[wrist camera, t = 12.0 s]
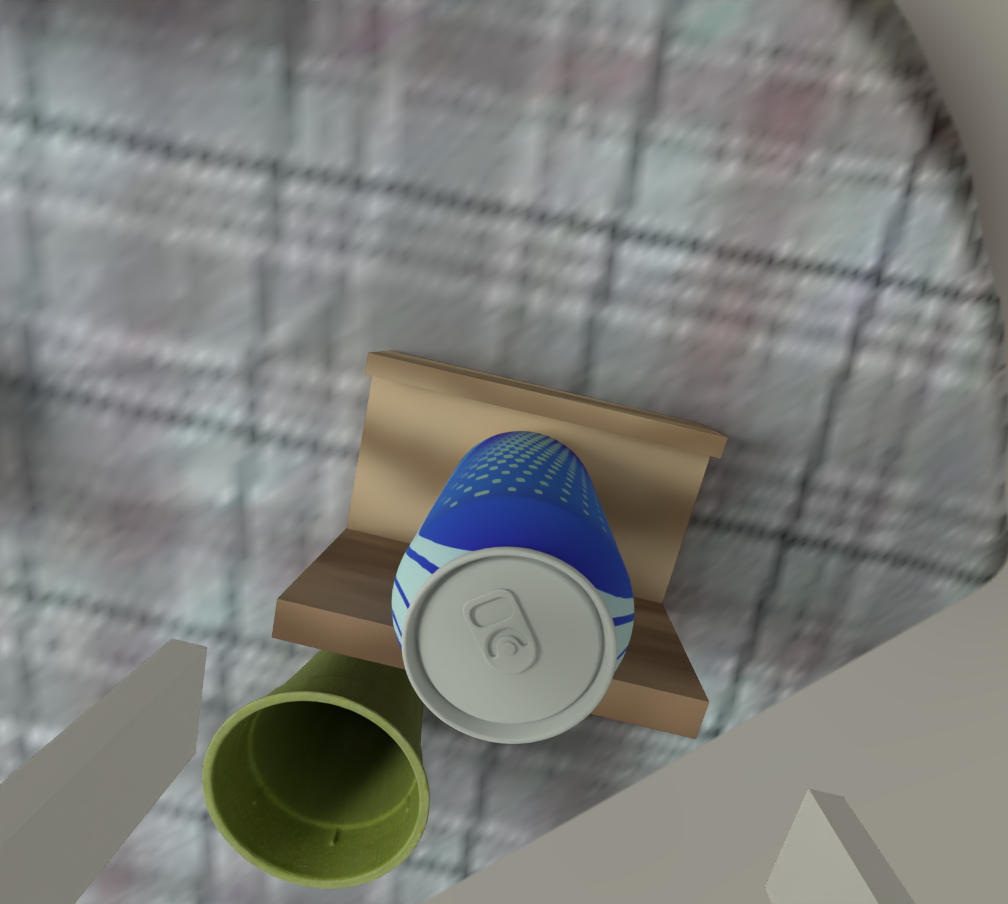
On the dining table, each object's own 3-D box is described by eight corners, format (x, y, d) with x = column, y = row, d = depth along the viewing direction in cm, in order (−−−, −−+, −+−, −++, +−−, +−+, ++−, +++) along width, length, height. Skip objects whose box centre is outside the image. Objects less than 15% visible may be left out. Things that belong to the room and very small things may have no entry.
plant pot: (482, 711, 38) (462, 861, 27) (335, 751, 40) (259, 909, 29) (423, 566, 36) (375, 667, 25) (270, 615, 38) (161, 729, 27)
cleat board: (390, 350, 33) (312, 357, 21) (701, 424, 33) (793, 471, 21) (357, 539, 36) (271, 637, 24) (643, 607, 36) (695, 739, 24)
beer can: (610, 449, 31) (689, 566, 15) (567, 577, 33) (598, 800, 17) (471, 409, 31) (406, 484, 15) (436, 540, 32) (345, 728, 17)
